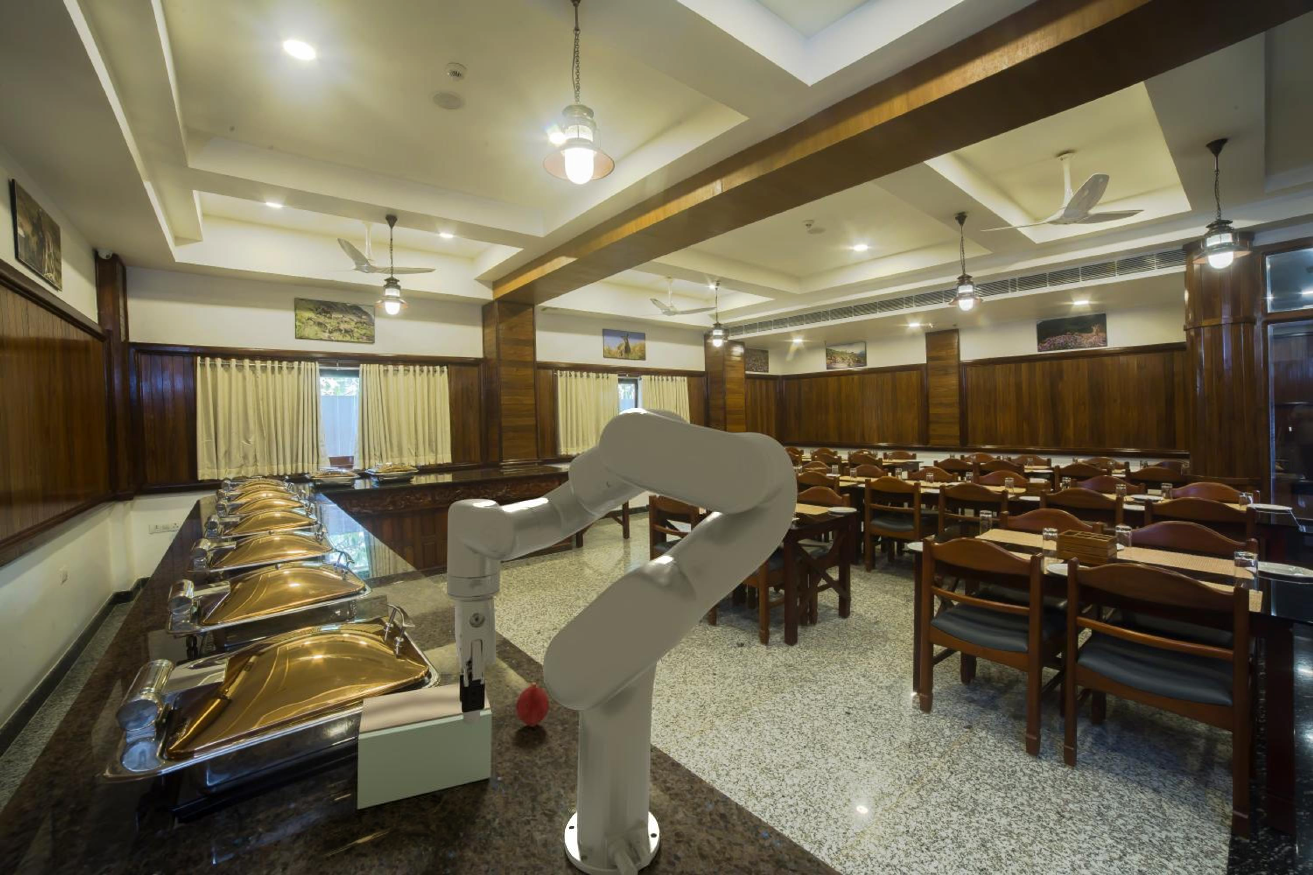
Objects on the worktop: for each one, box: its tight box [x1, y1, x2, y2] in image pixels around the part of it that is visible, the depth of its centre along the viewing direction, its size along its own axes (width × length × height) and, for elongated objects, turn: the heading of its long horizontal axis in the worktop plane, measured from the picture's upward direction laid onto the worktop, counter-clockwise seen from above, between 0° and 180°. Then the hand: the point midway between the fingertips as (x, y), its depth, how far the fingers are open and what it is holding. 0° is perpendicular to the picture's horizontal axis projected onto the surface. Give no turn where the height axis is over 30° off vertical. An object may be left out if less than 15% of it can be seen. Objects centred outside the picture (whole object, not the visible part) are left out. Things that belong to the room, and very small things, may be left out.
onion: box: [515, 682, 550, 728], centre depth 99 cm, size 6×6×8 cm
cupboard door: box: [357, 669, 493, 810], centre depth 80 cm, size 3×18×18 cm, turn 115°
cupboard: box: [358, 682, 491, 736], centre depth 86 cm, size 10×18×10 cm, turn 115°
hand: (471, 703), depth 82 cm, fingers closed on cupboard door, 2 cm apart
